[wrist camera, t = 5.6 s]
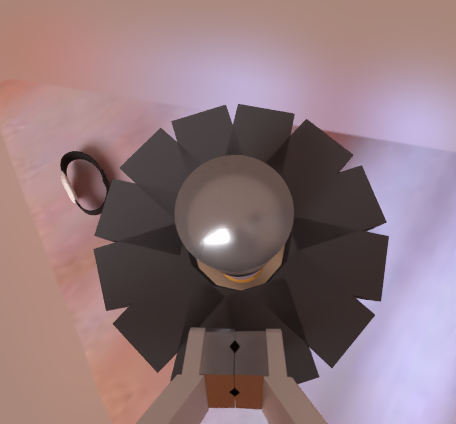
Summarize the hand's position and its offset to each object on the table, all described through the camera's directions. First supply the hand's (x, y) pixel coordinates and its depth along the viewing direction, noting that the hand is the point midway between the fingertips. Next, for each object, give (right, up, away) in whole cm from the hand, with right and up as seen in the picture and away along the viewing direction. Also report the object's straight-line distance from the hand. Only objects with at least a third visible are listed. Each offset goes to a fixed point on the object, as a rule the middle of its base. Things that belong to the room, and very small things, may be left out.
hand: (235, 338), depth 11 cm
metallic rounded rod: (+1, -1, +21) cm, 21 cm away
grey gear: (0, +3, +3) cm, 4 cm away
